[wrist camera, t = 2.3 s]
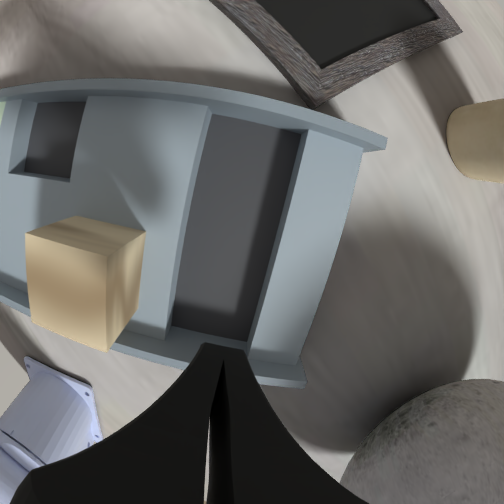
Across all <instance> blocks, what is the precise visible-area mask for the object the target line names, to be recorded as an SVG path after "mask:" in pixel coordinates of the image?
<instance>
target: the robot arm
mask: <svg viewBox="0 0 504 504" xmlns="http://www.w3.org/2000/svg"><path fill="white" fill-rule="evenodd" d="M24 362H25V366H26V369H27V373H28V376H29V379H30V381H29V382H28V384H27V385H26V386H25V387H24V388H23V389H22V391H21V392H20V393H19V394H18V396H17V397H16V398H15V399H14V401H13V402H12V403H11V405H10V406H9V407H8V408H7V410H6V411H5V412H4V414H3V415H2V416H1V418H0V504H204V484H205V467H206V454H207V441H208V430H209V419H210V434H209V485H208V494H207V504H369V503H368V502H366V501H364V500H362V499H361V498H359V497H358V496H356V495H355V494H353V493H352V492H350V491H349V490H348V489H346V488H345V487H344V486H342V485H341V484H339V483H338V482H337V481H336V480H335V479H333V478H332V477H331V476H330V475H329V474H328V473H327V472H325V471H324V470H323V469H322V468H321V467H320V466H319V465H318V464H317V463H316V462H314V461H313V460H312V459H311V458H310V456H309V455H308V454H307V453H306V452H305V451H304V450H303V449H302V448H301V447H300V446H299V444H298V443H297V442H296V441H295V439H294V438H293V437H292V436H291V435H290V433H289V432H288V431H287V429H286V428H285V427H284V425H283V424H282V422H281V421H280V419H279V418H278V416H277V415H276V413H275V412H274V410H273V409H272V407H271V405H270V404H269V402H268V400H267V398H266V397H265V395H264V393H263V391H262V389H261V387H260V385H259V383H258V381H257V379H256V377H255V375H254V373H253V371H252V368H251V366H250V363H249V361H248V358H247V355H246V353H245V351H244V350H242V349H237V348H231V347H226V346H221V345H216V344H212V343H207V342H204V343H202V344H201V345H200V348H199V350H198V352H197V353H196V355H195V357H194V358H193V360H192V361H191V362H190V364H189V365H188V367H187V368H186V369H185V370H184V371H183V373H182V374H181V375H180V376H179V378H178V379H177V380H176V381H175V382H174V383H173V384H172V385H171V386H170V387H169V388H168V389H167V391H166V392H165V393H164V394H163V395H162V396H161V397H160V398H159V399H158V400H156V401H155V402H154V403H153V404H152V405H151V406H150V407H149V408H147V409H146V410H145V411H144V412H143V413H141V414H140V415H139V416H138V417H136V418H135V419H134V420H132V421H131V422H129V423H128V424H127V425H125V426H124V427H122V428H121V429H120V430H118V431H117V432H115V433H113V434H112V435H110V436H109V437H107V438H105V439H103V436H102V432H101V428H100V424H99V420H98V415H97V410H96V405H95V400H94V394H93V389H92V387H91V386H90V385H88V384H86V383H83V382H81V381H78V380H76V379H74V378H71V377H69V376H67V375H65V374H62V373H60V372H58V371H56V370H54V369H52V368H50V367H48V366H46V365H44V364H42V363H40V362H38V361H36V360H34V359H32V358H30V357H28V356H25V357H24ZM94 441H95V442H97V443H96V444H94V445H93V443H94Z"/></svg>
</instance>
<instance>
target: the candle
mask: <svg viewBox="0 0 504 504" xmlns="http://www.w3.org/2000/svg"><path fill="white" fill-rule="evenodd" d="M446 137H447V144H448V149H449V152H450V155H451V158H452V160H453V162H454V164H455V165H456V167H457V168H458V170H459V171H460V172H461V173H462V174H463V175H465V176H466V177H469V178H471V179H476V180H482V181H490V182H497V183H504V99H498V100H492V101H487V102H481V103H476V104H471V105H466V106H462V107H459V108H457V109H455V110H454V111H453V112H452V113H451V115H450V116H449V119H448V122H447V128H446Z"/></svg>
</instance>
